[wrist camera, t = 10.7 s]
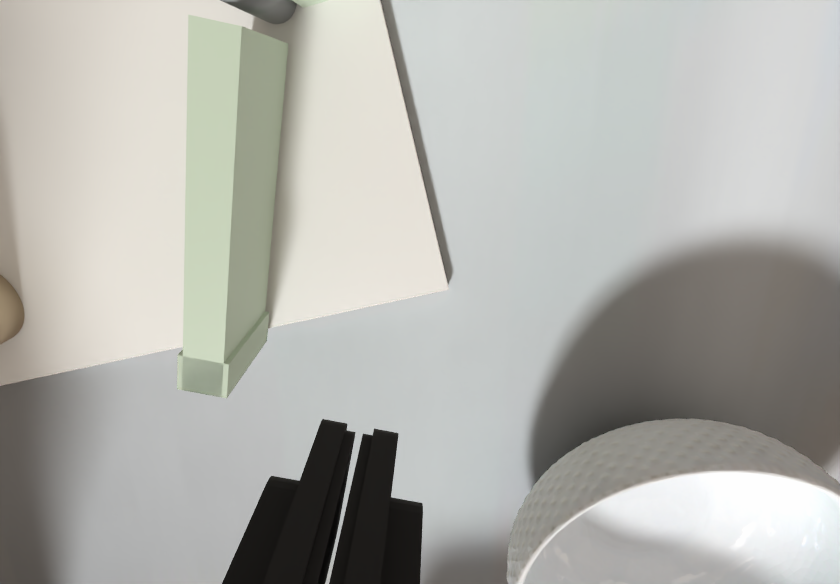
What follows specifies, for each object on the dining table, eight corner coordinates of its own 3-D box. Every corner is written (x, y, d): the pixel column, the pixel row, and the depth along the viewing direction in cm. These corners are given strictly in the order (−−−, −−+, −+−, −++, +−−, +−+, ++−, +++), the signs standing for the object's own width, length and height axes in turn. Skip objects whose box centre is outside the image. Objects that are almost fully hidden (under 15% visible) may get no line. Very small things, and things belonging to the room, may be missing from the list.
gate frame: (-27, 387, 27) (-133, 453, 22) (-250, 58, 21) (-467, 45, 16) (448, 285, 24) (451, 335, 19) (348, -136, 18) (314, -229, 13)
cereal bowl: (441, 527, 30) (442, 648, 23) (613, 317, 24) (679, 399, 18) (656, 627, 33) (712, 761, 26) (855, 460, 27) (990, 576, 20)
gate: (243, 33, 19) (181, 13, 14) (293, 44, 19) (248, 27, 15) (226, 333, 24) (177, 389, 19) (266, 340, 24) (226, 398, 20)
